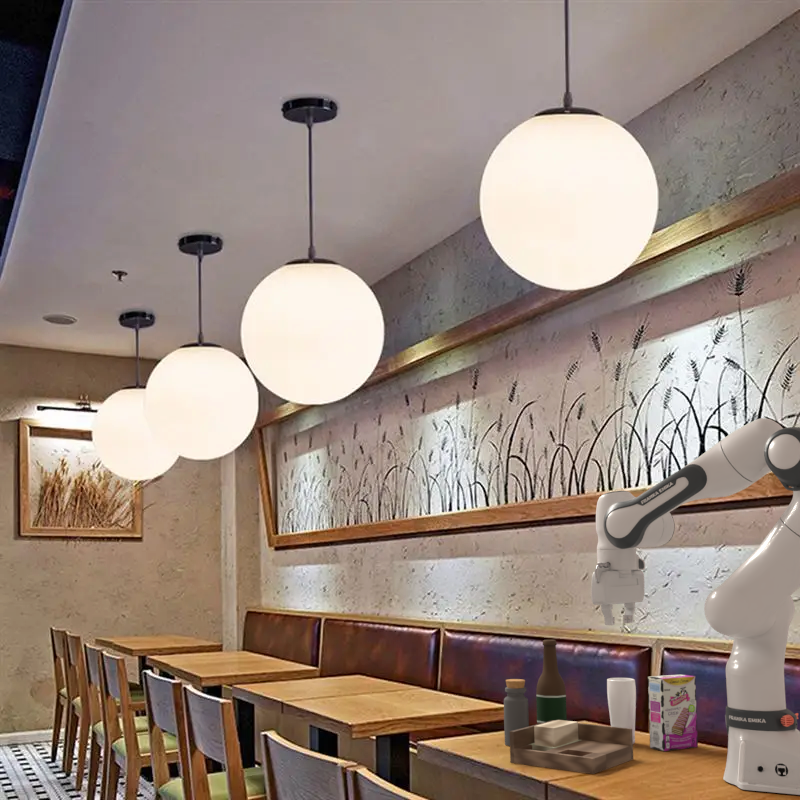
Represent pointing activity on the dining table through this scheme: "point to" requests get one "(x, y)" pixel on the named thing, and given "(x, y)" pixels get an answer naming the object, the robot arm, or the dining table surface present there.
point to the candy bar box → (672, 712)
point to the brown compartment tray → (575, 749)
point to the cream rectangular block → (556, 733)
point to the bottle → (515, 707)
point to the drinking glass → (622, 703)
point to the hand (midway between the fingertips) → (619, 624)
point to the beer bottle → (550, 688)
